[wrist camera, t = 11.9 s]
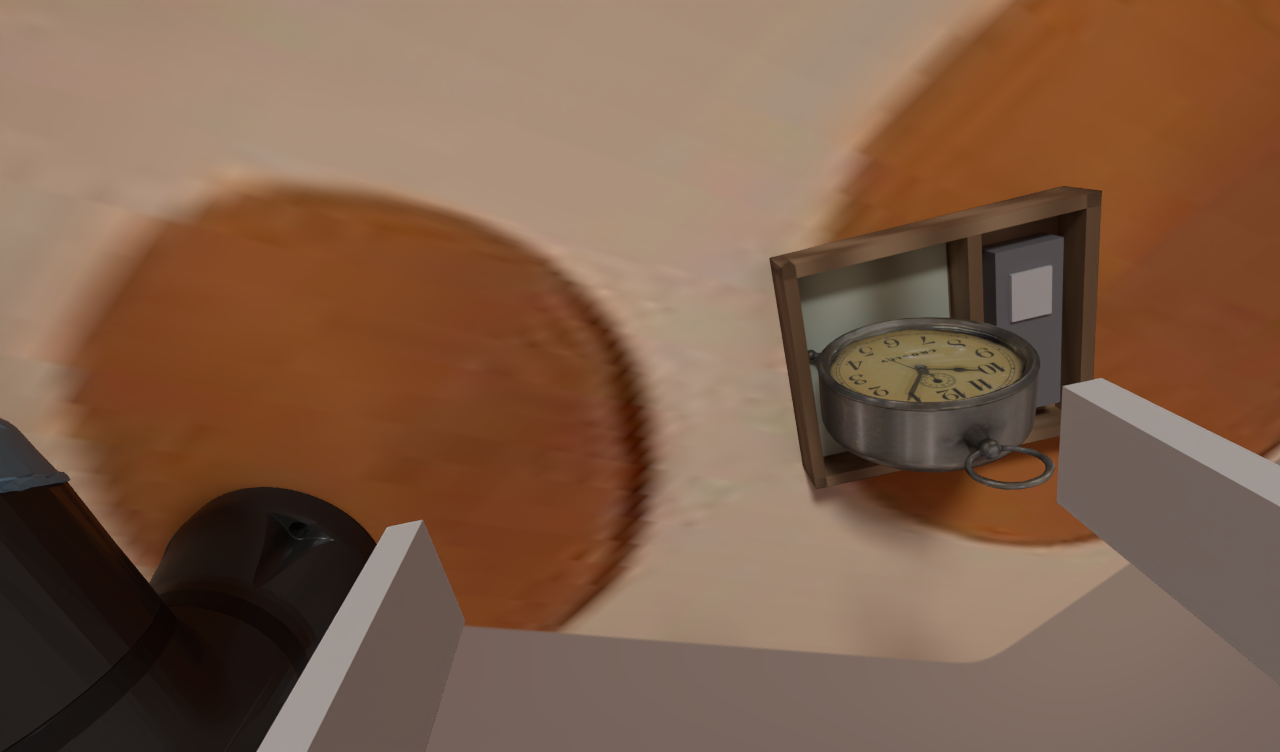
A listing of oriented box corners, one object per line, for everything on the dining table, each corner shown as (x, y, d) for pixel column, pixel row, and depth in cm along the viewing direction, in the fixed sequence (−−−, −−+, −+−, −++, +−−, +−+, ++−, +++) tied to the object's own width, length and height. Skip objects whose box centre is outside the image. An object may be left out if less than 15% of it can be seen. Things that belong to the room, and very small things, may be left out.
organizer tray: (802, 465, 44) (815, 489, 41) (769, 257, 38) (781, 268, 35) (1058, 408, 43) (1091, 429, 40) (1063, 186, 37) (1101, 190, 34)
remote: (981, 403, 42) (1000, 417, 40) (977, 247, 38) (997, 254, 36) (1040, 390, 41) (1062, 403, 39) (1041, 232, 37) (1066, 237, 35)
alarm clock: (959, 298, 39) (1173, 403, 24) (959, 375, 41) (1156, 517, 26) (789, 332, 39) (893, 455, 24) (797, 406, 41) (898, 562, 26)
